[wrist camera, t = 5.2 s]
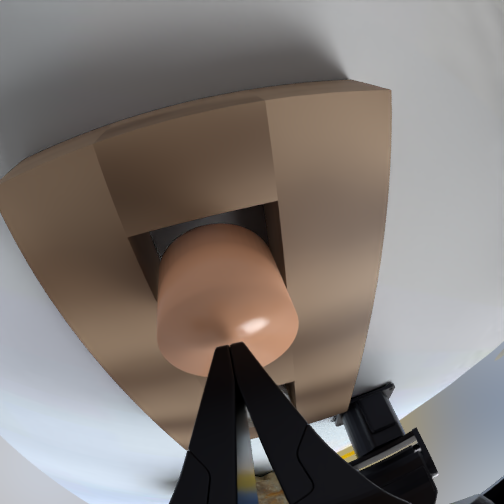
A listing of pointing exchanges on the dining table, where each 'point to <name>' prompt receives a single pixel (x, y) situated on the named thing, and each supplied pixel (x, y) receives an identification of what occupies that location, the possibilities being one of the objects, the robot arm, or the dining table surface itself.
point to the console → (208, 204)
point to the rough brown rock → (269, 490)
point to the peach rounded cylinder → (221, 298)
